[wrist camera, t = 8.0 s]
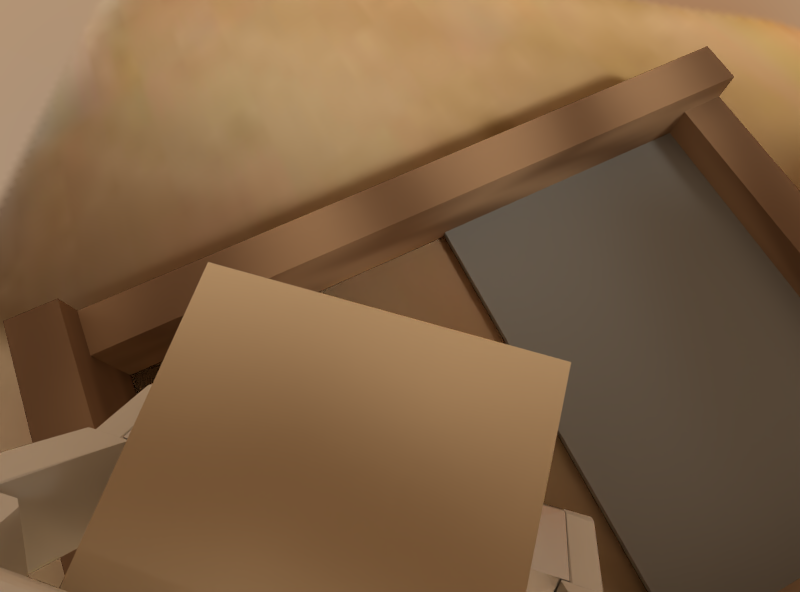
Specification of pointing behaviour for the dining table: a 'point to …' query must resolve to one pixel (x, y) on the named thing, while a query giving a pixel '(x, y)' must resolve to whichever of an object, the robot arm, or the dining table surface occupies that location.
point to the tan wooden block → (326, 454)
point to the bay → (562, 311)
